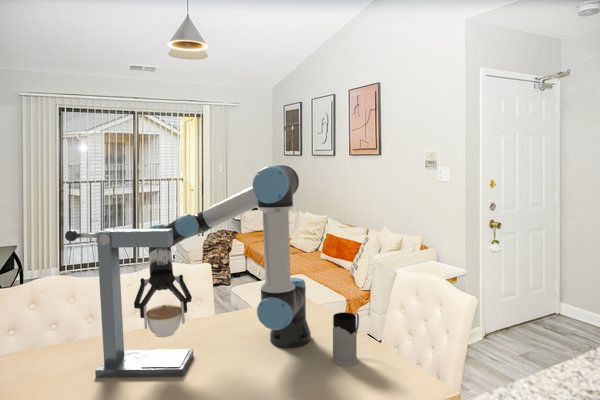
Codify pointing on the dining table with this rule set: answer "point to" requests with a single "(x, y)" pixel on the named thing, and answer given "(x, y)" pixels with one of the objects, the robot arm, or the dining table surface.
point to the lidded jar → (164, 320)
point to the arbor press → (111, 306)
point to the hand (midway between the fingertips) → (164, 324)
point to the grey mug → (345, 339)
